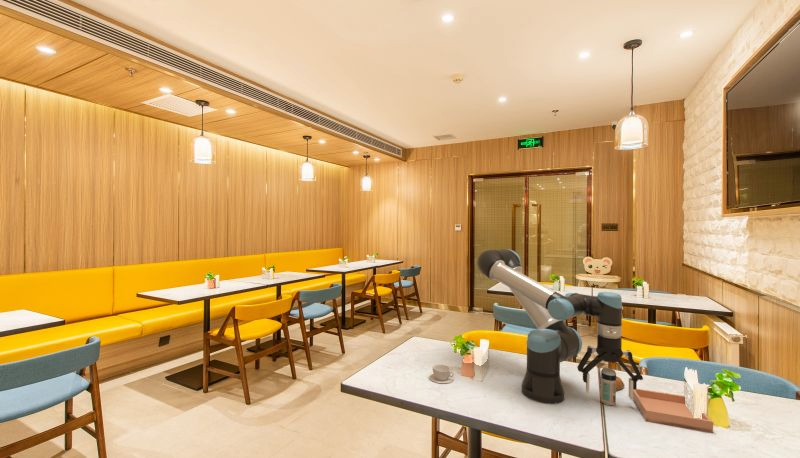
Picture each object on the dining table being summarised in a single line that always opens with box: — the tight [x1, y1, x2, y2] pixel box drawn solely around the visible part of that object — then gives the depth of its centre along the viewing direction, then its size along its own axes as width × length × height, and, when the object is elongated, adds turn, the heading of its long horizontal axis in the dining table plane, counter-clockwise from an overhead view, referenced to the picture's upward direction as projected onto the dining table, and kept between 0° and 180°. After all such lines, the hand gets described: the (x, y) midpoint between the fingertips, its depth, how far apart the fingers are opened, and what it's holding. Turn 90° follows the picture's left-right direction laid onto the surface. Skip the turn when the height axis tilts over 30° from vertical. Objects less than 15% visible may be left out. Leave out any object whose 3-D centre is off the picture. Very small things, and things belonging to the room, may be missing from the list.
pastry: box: [616, 375, 626, 392], centre depth 138 cm, size 9×7×4 cm
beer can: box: [600, 367, 617, 407], centre depth 125 cm, size 5×5×12 cm
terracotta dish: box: [632, 388, 714, 434], centre depth 119 cm, size 18×18×4 cm
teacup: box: [428, 363, 455, 384], centre depth 143 cm, size 10×10×5 cm
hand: (608, 394), depth 125 cm, fingers open, 13 cm apart
